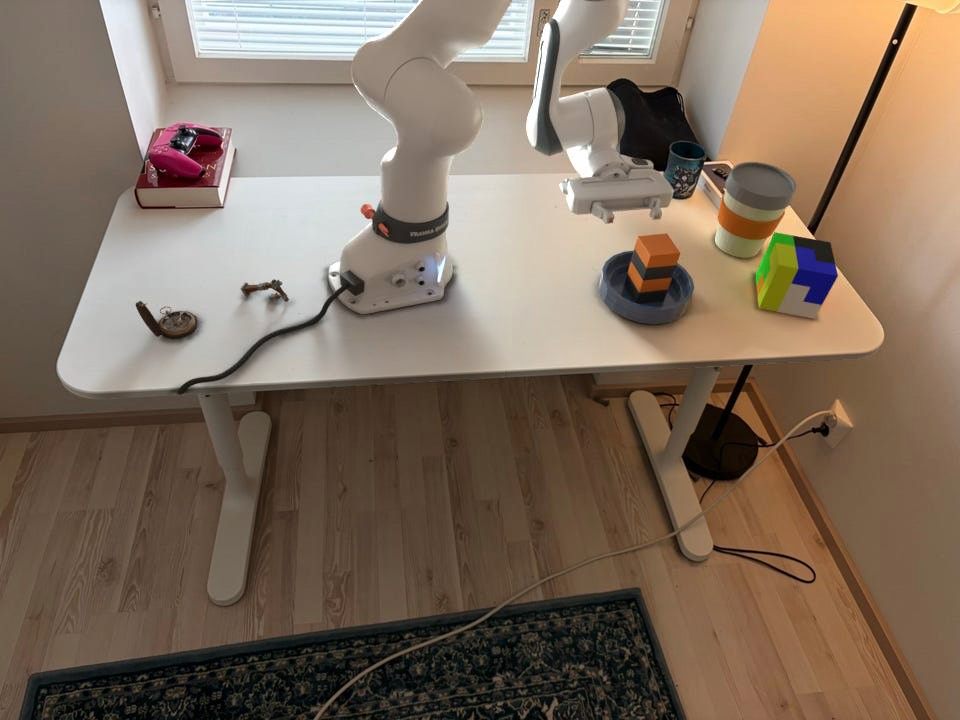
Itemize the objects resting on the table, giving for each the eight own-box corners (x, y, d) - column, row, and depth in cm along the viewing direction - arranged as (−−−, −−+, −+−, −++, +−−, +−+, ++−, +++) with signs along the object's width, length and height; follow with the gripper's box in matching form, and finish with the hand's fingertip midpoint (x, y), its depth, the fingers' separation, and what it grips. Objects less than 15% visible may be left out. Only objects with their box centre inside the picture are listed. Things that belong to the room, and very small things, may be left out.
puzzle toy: (814, 318, 131) (838, 275, 124) (758, 308, 132) (778, 265, 124) (808, 284, 138) (830, 242, 130) (755, 274, 139) (774, 232, 131)
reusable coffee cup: (695, 244, 144) (718, 179, 133) (721, 218, 151) (745, 154, 141) (754, 271, 139) (783, 206, 128) (778, 243, 147) (807, 178, 136)
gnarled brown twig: (290, 303, 122) (276, 282, 119) (253, 308, 125) (239, 287, 123) (294, 296, 123) (281, 275, 121) (258, 301, 127) (244, 281, 124)
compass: (206, 329, 118) (196, 295, 112) (159, 350, 114) (147, 316, 108) (182, 303, 121) (172, 269, 116) (136, 323, 117) (124, 289, 112)
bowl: (638, 337, 124) (643, 320, 121) (580, 282, 133) (583, 265, 130) (706, 308, 131) (713, 291, 128) (646, 258, 140) (651, 241, 137)
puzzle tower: (635, 304, 129) (650, 255, 121) (624, 284, 133) (637, 235, 125) (664, 301, 130) (680, 252, 122) (651, 281, 134) (667, 233, 126)
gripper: (559, 166, 136) (583, 208, 127) (658, 159, 140) (689, 199, 131) (554, 195, 140) (577, 237, 131) (650, 187, 145) (679, 228, 136)
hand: (634, 218), depth 131 cm, fingers open, 8 cm apart
